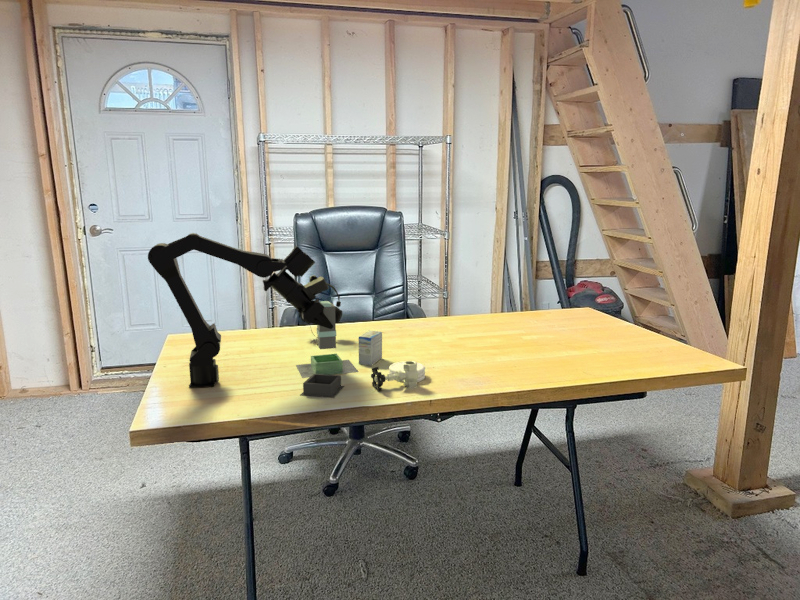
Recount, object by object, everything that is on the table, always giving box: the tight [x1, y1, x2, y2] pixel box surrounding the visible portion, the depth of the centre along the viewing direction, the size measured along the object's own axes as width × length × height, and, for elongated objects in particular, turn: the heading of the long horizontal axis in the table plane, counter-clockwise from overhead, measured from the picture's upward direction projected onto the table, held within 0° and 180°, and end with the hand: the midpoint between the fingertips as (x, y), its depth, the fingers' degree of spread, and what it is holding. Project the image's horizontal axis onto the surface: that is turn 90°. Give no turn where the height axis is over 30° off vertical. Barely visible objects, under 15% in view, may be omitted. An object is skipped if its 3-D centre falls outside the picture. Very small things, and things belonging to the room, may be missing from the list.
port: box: [295, 353, 359, 379], centre depth 162 cm, size 16×12×4 cm
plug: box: [316, 300, 337, 350], centre depth 159 cm, size 5×5×13 cm
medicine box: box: [358, 330, 383, 367], centre depth 170 cm, size 8×4×9 cm, turn 159°
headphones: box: [298, 282, 343, 346], centre depth 193 cm, size 15×11×20 cm
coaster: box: [388, 360, 426, 383], centre depth 156 cm, size 10×10×4 cm
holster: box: [299, 374, 345, 399], centre depth 145 cm, size 9×9×4 cm
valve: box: [370, 360, 418, 392], centre depth 148 cm, size 7×7×12 cm
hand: (330, 325), depth 159 cm, fingers closed on plug, 4 cm apart
